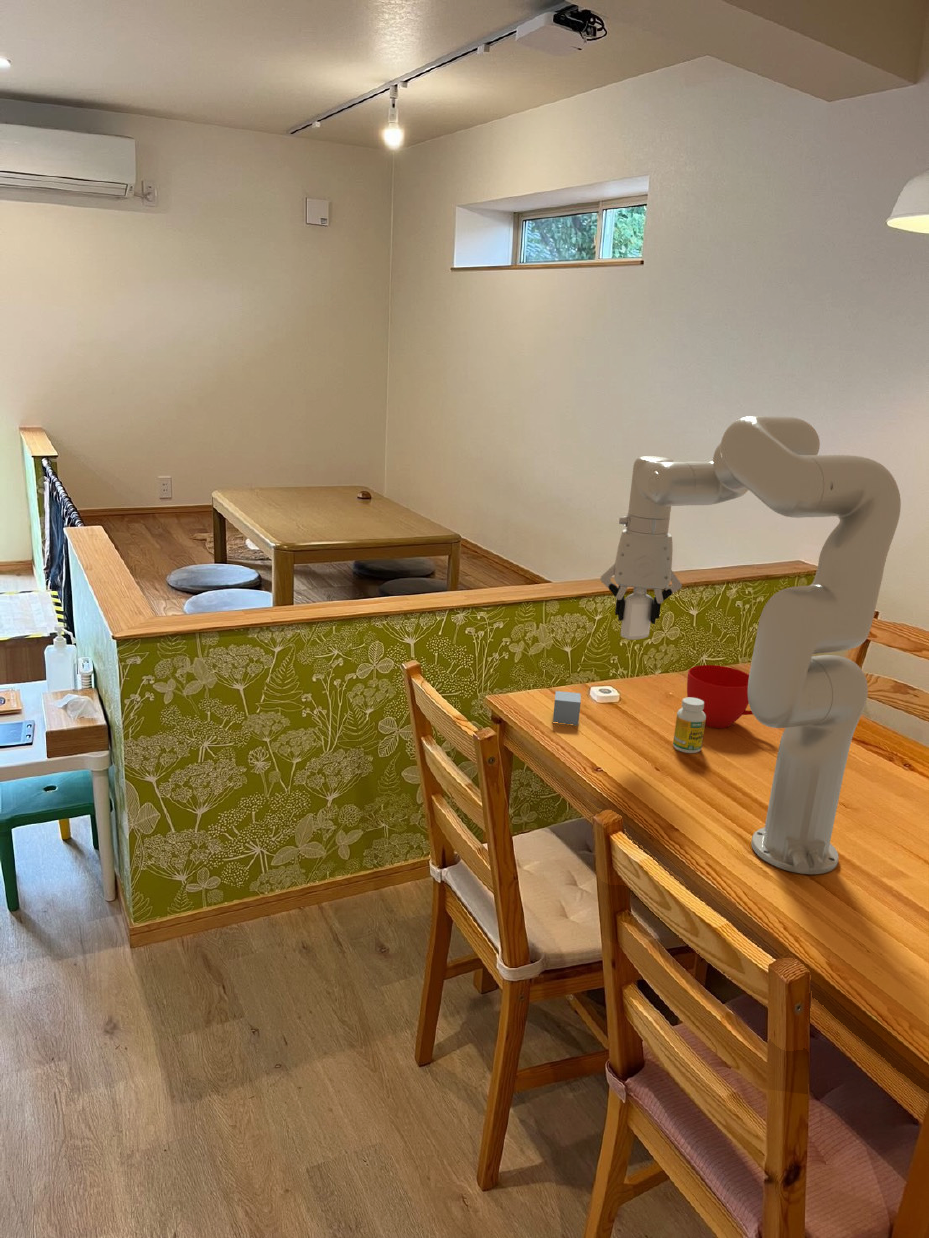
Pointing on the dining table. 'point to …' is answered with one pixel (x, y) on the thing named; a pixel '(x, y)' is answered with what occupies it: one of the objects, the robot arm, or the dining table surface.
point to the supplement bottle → (689, 726)
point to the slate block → (567, 707)
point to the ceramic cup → (719, 693)
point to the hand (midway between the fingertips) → (636, 619)
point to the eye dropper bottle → (637, 615)
